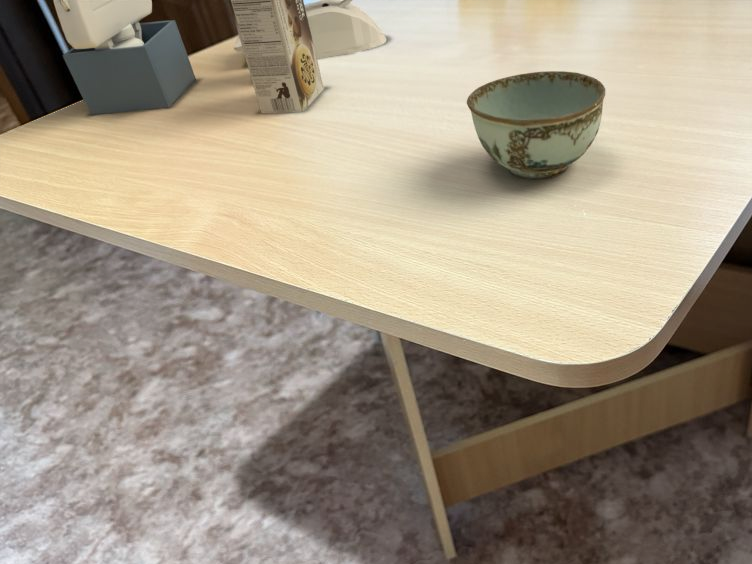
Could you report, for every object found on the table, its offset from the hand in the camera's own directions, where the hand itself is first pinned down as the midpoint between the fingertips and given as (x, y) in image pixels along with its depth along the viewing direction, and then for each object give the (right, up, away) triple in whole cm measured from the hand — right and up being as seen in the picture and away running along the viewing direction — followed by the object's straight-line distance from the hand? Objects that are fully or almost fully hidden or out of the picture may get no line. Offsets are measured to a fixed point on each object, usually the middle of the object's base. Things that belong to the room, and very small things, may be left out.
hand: (128, 63), depth 102 cm
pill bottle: (+1, -4, +3) cm, 5 cm away
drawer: (+1, -3, +5) cm, 6 cm away
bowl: (+57, -24, -29) cm, 69 cm away
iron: (+24, +8, +15) cm, 30 cm away
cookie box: (+26, -8, -5) cm, 27 cm away
